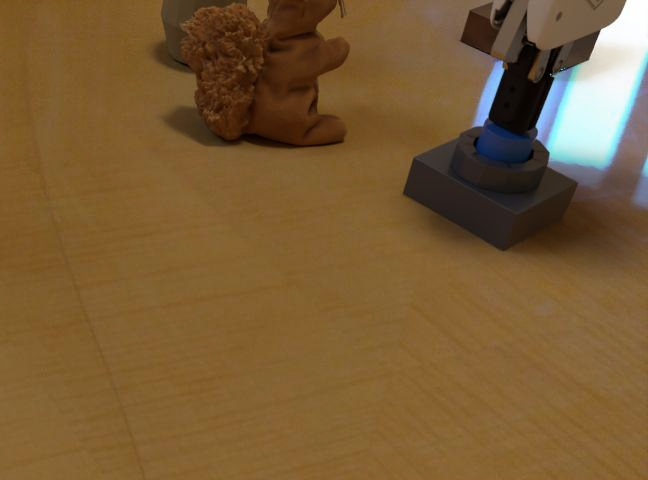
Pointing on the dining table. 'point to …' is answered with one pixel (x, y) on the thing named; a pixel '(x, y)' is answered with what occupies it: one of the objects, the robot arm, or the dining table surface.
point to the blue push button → (505, 143)
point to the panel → (485, 35)
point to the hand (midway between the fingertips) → (510, 124)
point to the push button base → (490, 190)
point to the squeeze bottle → (184, 19)
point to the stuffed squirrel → (264, 70)
